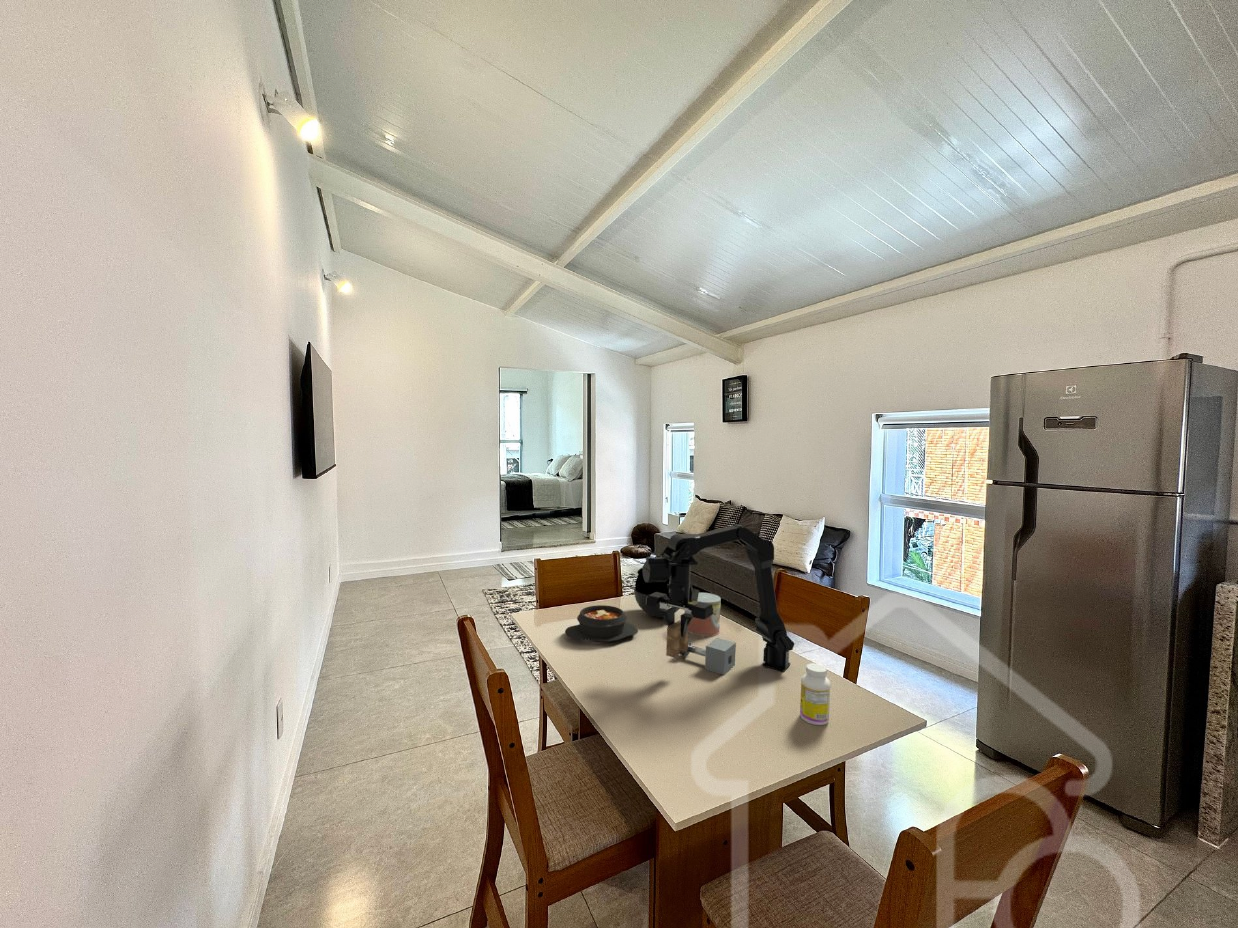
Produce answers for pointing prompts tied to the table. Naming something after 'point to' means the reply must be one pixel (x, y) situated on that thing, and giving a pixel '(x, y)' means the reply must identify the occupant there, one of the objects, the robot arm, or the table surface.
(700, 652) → the shaft
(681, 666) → the table surface
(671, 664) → the table surface
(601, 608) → the casserole
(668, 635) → the block
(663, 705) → the table surface
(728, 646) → the block
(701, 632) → the canned food
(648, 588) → the bowl of black rocks
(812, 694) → the supplement bottle
